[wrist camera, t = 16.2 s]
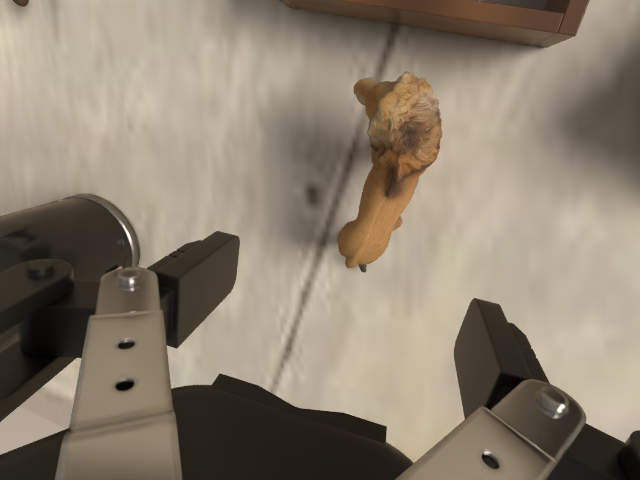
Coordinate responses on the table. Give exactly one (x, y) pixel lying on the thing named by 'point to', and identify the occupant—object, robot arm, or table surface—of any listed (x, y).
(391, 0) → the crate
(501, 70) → the table surface
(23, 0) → the brown humanoid figurine
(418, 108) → the lion figurine
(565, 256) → the table surface
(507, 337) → the robot arm
